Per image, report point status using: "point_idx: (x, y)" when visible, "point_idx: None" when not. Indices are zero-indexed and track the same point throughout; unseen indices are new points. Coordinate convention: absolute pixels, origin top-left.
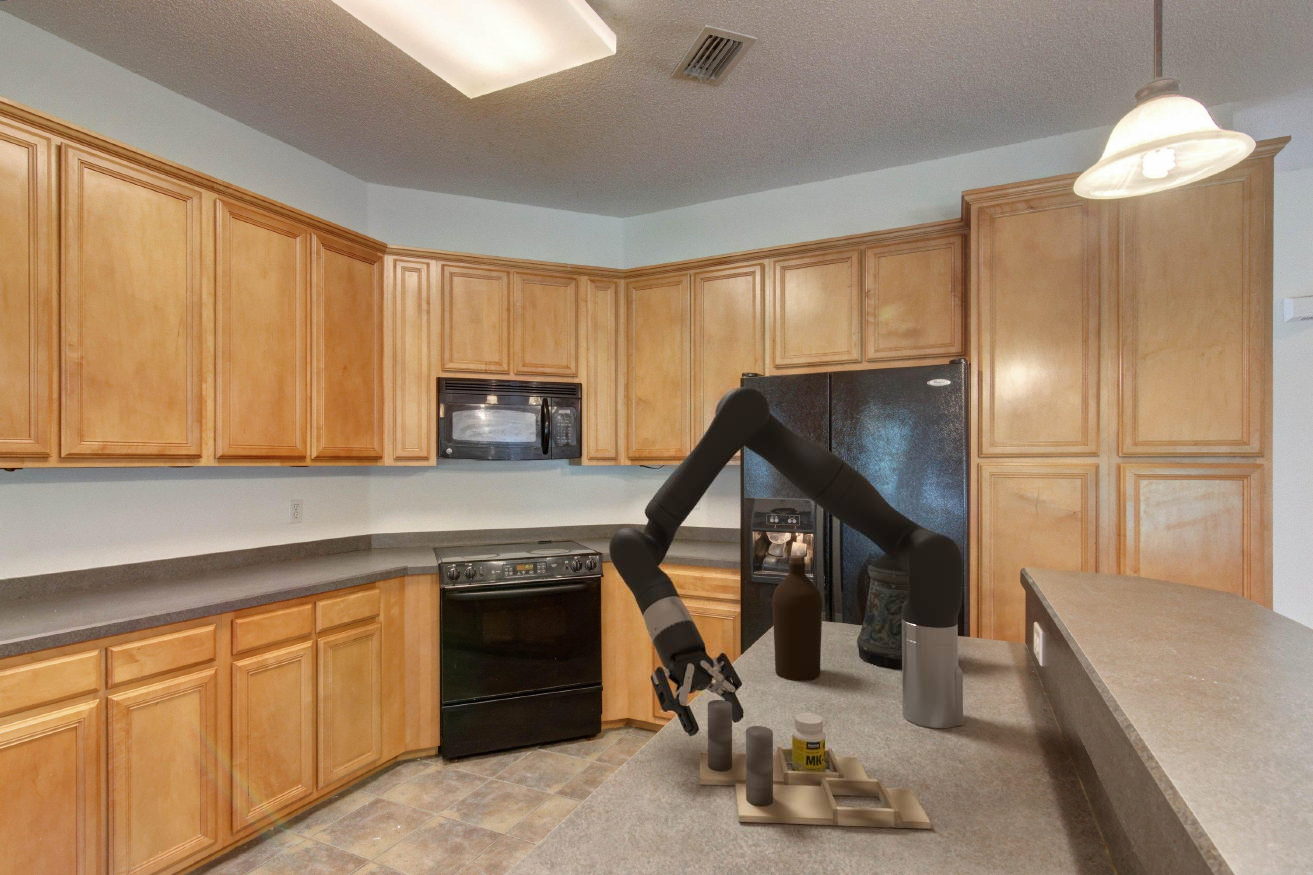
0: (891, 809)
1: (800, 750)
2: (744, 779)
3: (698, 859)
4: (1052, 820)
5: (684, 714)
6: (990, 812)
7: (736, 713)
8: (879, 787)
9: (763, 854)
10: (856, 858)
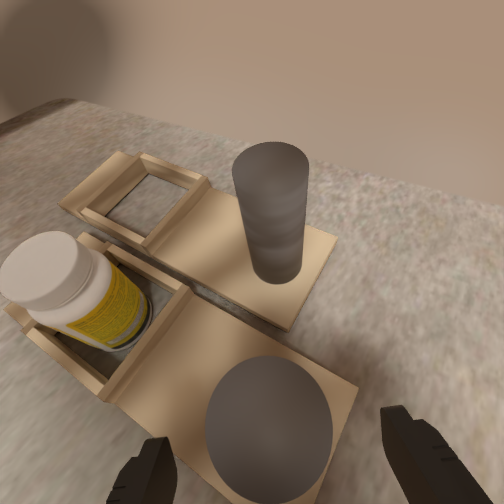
0: (143, 156)
1: (124, 282)
2: (261, 334)
3: (433, 198)
4: (10, 137)
5: (465, 482)
6: (36, 161)
7: (162, 465)
8: (95, 205)
9: (337, 181)
10: (237, 149)
